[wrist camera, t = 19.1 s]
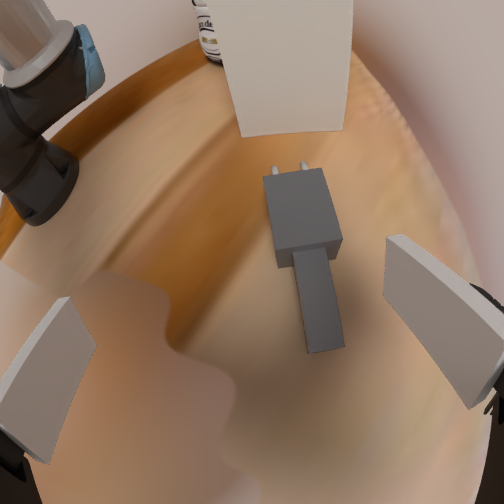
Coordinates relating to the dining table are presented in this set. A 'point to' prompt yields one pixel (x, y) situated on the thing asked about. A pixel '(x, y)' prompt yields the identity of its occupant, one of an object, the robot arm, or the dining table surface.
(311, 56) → the pillar
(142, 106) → the dining table surface
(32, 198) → the robot arm
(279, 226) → the plug
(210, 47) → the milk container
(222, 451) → the dining table surface
